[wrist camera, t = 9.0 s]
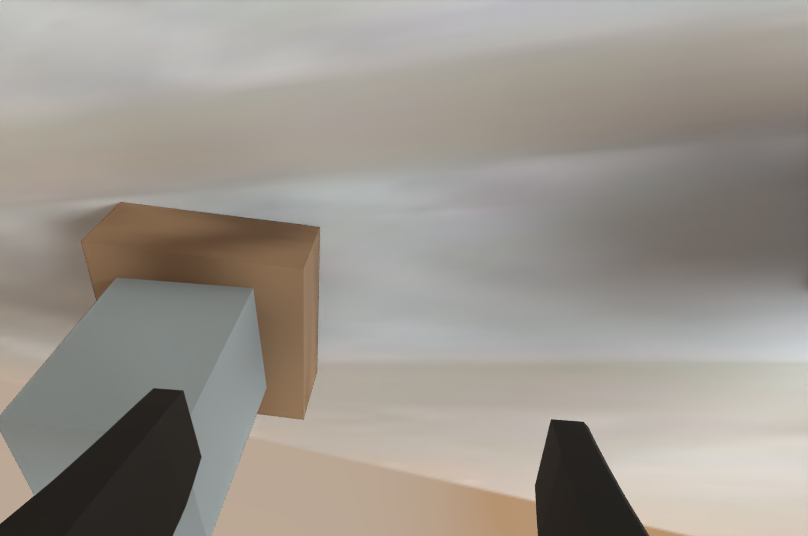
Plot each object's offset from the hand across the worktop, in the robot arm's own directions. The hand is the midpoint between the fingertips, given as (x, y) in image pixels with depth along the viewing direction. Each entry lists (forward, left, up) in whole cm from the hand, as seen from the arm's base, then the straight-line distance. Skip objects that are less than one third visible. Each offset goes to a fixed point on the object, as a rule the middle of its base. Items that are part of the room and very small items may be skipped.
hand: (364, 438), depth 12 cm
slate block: (+7, +4, -7) cm, 11 cm away
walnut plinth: (+7, +4, -10) cm, 13 cm away
